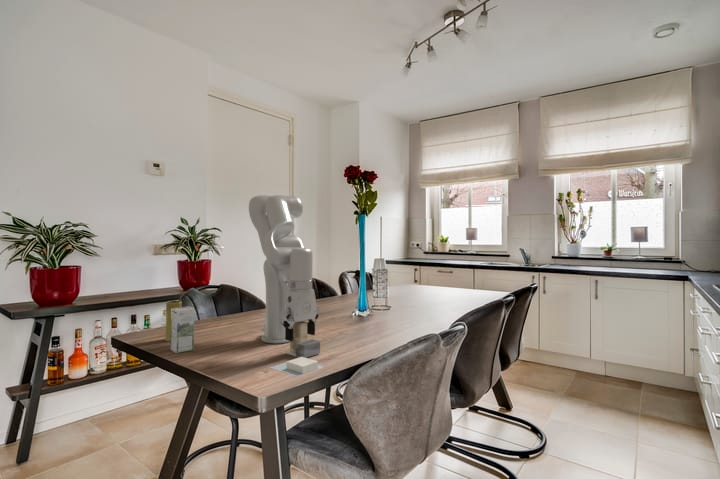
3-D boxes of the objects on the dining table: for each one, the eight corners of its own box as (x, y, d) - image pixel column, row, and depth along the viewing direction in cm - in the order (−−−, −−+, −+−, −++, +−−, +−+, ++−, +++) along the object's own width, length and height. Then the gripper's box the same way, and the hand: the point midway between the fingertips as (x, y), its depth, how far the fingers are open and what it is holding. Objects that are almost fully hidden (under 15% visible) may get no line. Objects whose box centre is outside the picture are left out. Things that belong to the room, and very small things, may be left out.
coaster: (286, 354, 127) (286, 352, 127) (299, 350, 132) (299, 348, 132) (300, 358, 123) (300, 356, 123) (314, 354, 128) (314, 352, 128)
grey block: (285, 352, 127) (285, 322, 127) (301, 348, 132) (301, 319, 132) (304, 358, 121) (304, 326, 121) (320, 353, 127) (320, 322, 127)
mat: (269, 368, 113) (269, 367, 113) (297, 359, 122) (297, 358, 122) (297, 378, 106) (297, 376, 106) (325, 367, 114) (325, 366, 114)
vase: (160, 340, 143) (161, 302, 143) (174, 336, 149) (174, 299, 148) (173, 342, 141) (173, 303, 141) (186, 338, 146) (186, 301, 146)
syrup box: (187, 347, 135) (187, 305, 135) (194, 350, 131) (194, 307, 131) (170, 350, 131) (170, 307, 131) (176, 354, 127) (176, 310, 127)
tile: (286, 361, 112) (303, 366, 108) (301, 356, 117) (318, 361, 113) (286, 368, 112) (303, 374, 108) (301, 363, 117) (318, 368, 113)
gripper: (288, 289, 118) (288, 344, 118) (327, 284, 132) (326, 334, 132) (272, 287, 123) (272, 340, 123) (311, 282, 136) (311, 330, 136)
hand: (300, 337), depth 127 cm, fingers open, 9 cm apart
